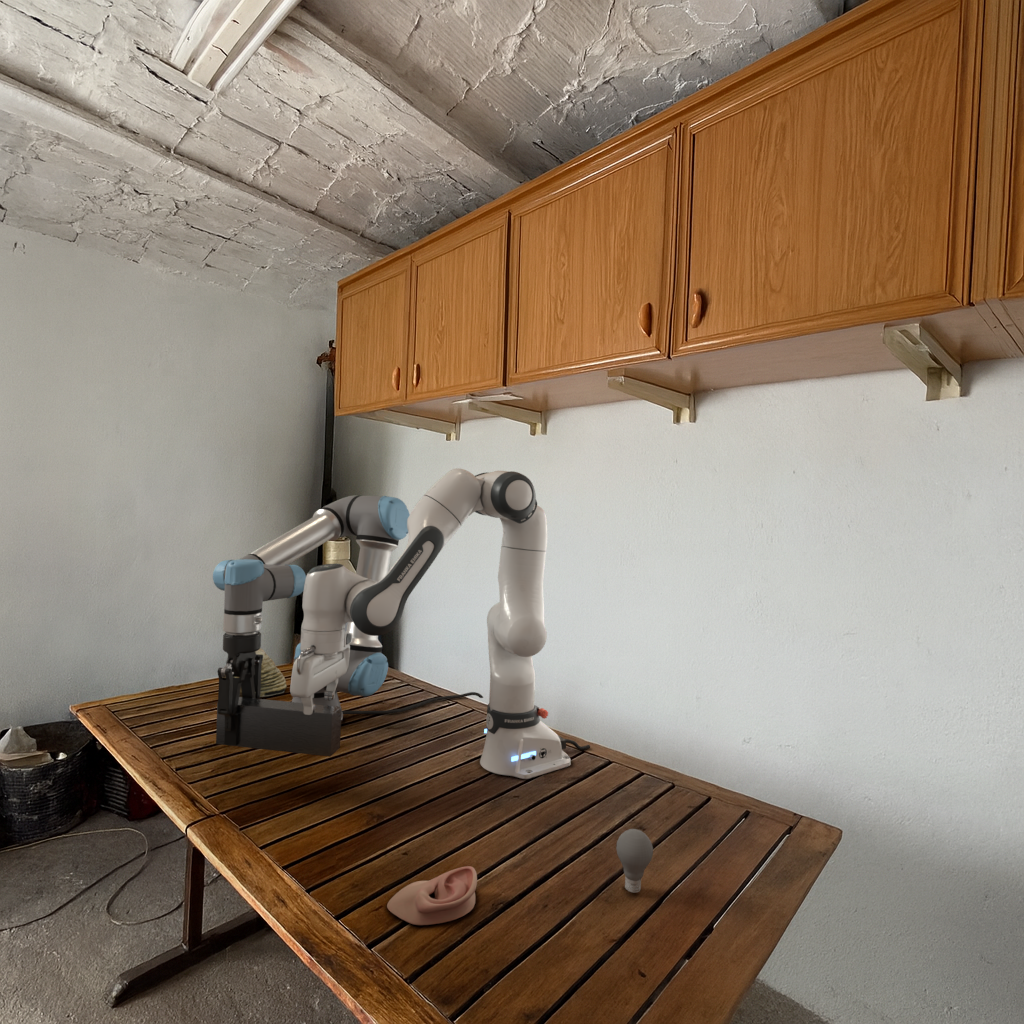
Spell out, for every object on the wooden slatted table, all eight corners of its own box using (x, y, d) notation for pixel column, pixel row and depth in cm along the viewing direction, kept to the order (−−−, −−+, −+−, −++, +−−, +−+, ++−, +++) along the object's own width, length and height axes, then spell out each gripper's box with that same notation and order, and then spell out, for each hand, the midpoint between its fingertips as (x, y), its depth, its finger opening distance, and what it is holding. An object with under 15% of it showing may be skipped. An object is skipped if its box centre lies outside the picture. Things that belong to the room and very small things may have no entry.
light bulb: (610, 879, 108) (613, 822, 108) (644, 879, 109) (647, 822, 109) (619, 902, 102) (622, 840, 102) (655, 901, 103) (658, 840, 103)
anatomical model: (379, 892, 96) (407, 852, 107) (378, 918, 96) (406, 875, 107) (464, 907, 93) (483, 864, 104) (463, 934, 93) (482, 888, 104)
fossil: (218, 695, 195) (220, 647, 195) (278, 685, 208) (279, 640, 207) (228, 703, 189) (230, 653, 188) (289, 692, 201) (290, 645, 201)
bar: (215, 744, 135) (217, 702, 134) (229, 735, 139) (230, 695, 139) (330, 756, 131) (332, 714, 130) (340, 747, 135) (341, 706, 135)
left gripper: (234, 642, 126) (230, 757, 127) (280, 625, 144) (276, 726, 145) (199, 639, 128) (196, 753, 128) (249, 622, 145) (246, 723, 146)
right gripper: (314, 653, 122) (310, 724, 123) (355, 633, 143) (352, 693, 143) (283, 650, 123) (280, 721, 124) (329, 630, 144) (326, 691, 144)
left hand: (238, 739), depth 136 cm, fingers closed on bar, 5 cm apart
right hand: (319, 706), depth 133 cm, fingers open, 8 cm apart
